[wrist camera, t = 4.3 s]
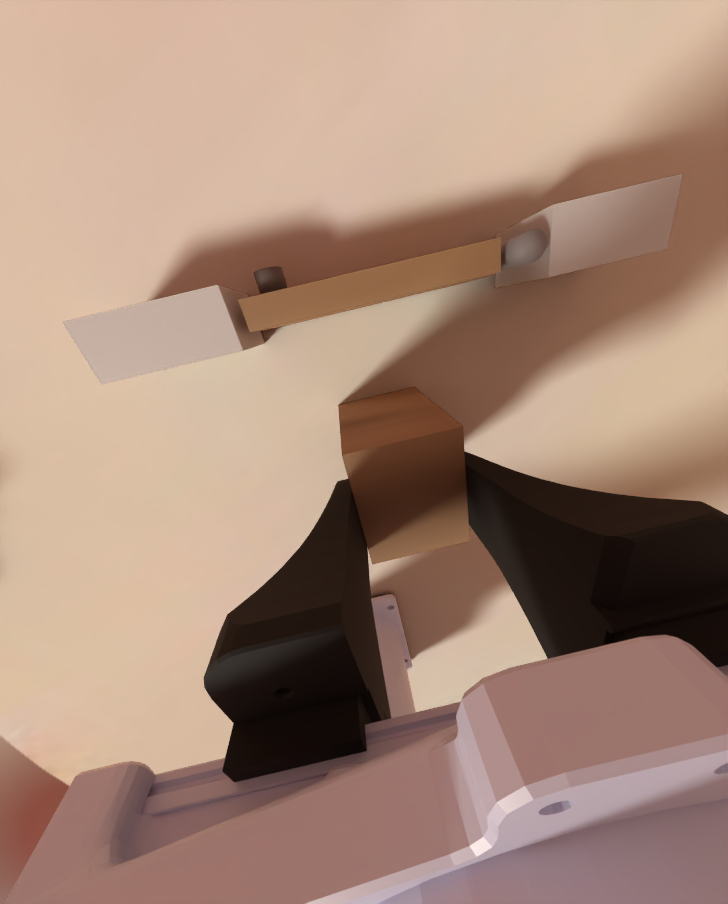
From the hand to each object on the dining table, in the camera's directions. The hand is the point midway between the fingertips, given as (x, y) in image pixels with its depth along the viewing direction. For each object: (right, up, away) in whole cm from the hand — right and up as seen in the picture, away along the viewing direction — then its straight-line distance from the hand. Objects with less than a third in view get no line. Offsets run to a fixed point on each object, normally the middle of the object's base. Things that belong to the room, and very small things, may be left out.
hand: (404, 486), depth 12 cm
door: (-2, +9, 0) cm, 9 cm away
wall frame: (-3, +8, +1) cm, 9 cm away
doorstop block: (-1, +2, +4) cm, 4 cm away
